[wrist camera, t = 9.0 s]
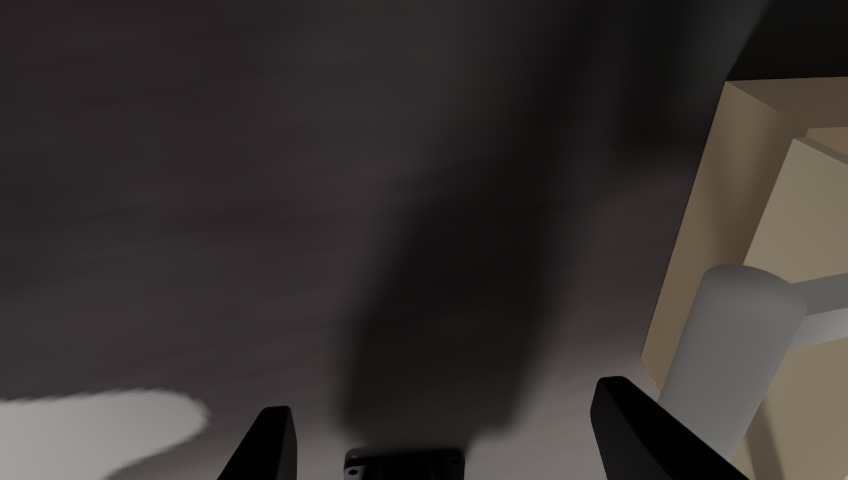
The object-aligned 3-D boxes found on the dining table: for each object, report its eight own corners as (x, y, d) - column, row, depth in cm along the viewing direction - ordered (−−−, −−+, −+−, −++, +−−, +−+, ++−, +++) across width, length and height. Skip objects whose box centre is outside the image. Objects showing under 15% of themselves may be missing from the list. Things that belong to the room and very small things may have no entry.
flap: (794, 567, 19) (617, 627, 18) (685, 429, 24) (538, 468, 23) (1034, 245, 12) (761, 301, 10) (807, 136, 17) (596, 163, 15)
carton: (860, 338, 29) (942, 414, 25) (640, 357, 28) (689, 440, 24) (1021, 70, 21) (1179, 118, 17) (725, 80, 20) (819, 135, 16)
